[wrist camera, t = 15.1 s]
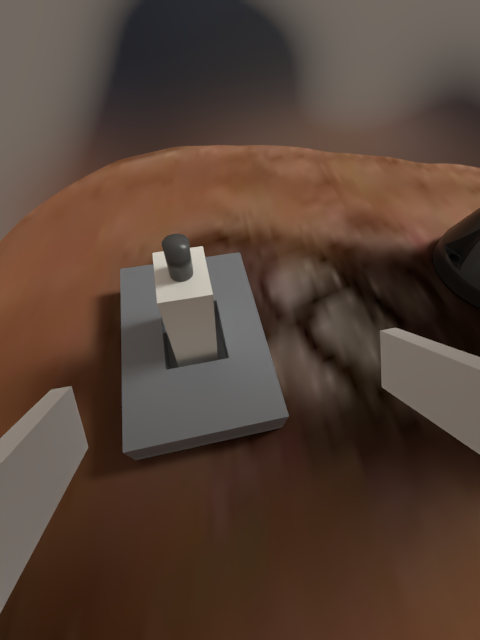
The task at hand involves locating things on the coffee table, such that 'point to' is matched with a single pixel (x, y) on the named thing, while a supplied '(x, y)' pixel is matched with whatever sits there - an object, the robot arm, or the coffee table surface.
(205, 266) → the plug
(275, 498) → the coffee table surface
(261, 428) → the socket panel
